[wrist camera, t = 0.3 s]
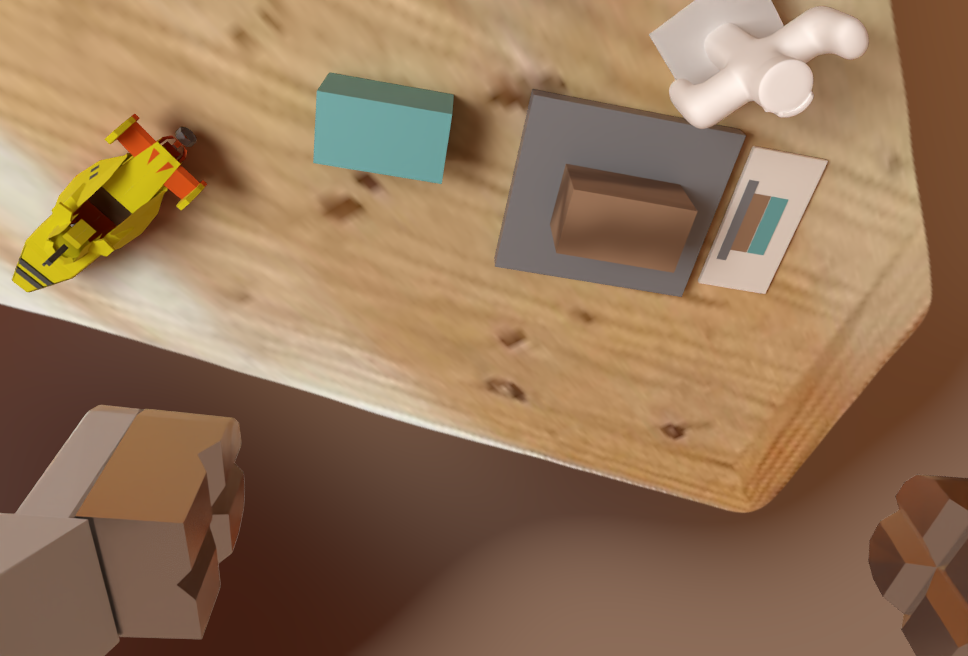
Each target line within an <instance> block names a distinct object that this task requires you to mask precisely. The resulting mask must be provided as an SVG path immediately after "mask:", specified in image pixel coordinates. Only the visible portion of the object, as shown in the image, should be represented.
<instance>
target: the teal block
mask: <svg viewBox="0 0 968 656" xmlns="http://www.w3.org/2000/svg"><path fill="white" fill-rule="evenodd" d="M453 99H454V95H453V94H448V93H442V92H436V91H431V90H425V89H419V88H414V87H408V86H403V85H397V84H391V83H386V82H380V81H374V80H369V79H363V78H357V77H352V76H346V75H341V74H335V73H329V74H328V75H327V77H326V78H325V80H324V81H323V83H322V84H321V86H320V87H319V88H318V90H317V99H316V120H315V140H314V161H313V163H317V164H323V165H329V166H335V167H341V168H347V169H353V170H360V171H366V172H372V173H378V174H384V175H390V176H396V177H402V178H409V179H415V180H421V181H427V182H433V183H439V184H442V178H443V171H444V165H445V158H446V152H447V145H448V139H449V132H450V126H451V119H452V112H453Z"/></svg>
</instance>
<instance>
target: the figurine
mask: <svg viewBox="0 0 968 656" xmlns="http://www.w3.org/2000/svg"><path fill="white" fill-rule="evenodd" d="M649 36H650V37H651V39H652V41H653V42H654V44H655V46H656V47H657V49H658V51H659V53H660V54H661V56H662V58H663V59H664V61H665V63H666V64H667V66H668V68H669V69H670V71H671V73H672V74H673V76H674V78H675V79H676V80H675V81H674V82H673V83H672V84H671V86H670V89H669V94H670V98H671V101H672V103H673V104H674V106H675V107H676V108H677V110H678V111H679V112H680V113H681V114H682V116H683V117H684V118H685V119H686V120H687V121H688V122H689V123H690V124H691V125H693V126H694V127H696V128H700V129H705V128H709V127H711V126H713V125H715V124H717V123H718V122H720V121H721V120H723V119H724V118H726V117H727V116H728V115H730V114H731V113H733V112H734V111H736V110H737V109H739V108H740V107H742V106H743V105H745V104H746V103H748V102H750V101H755V102H756V103H757V104H758V105H760V106H761V107H763V109H764V111H765V112H772V113H774V114H776V115H777V116H778V117H781V118H783V117H792V116H795V115H797V114H799V113H801V112H802V111H804V110H805V109H806V108H807V107H808V106H809V105H810V104H811V102H812V100H813V98H814V94H813V92H812V91H811V90H812V87H813V74H812V71H811V69H810V68H809V66H808V65H807V64H806V63H807V62H809V61H810V60H812V59H813V58H815V57H816V56H819V55H822V54H827V53H831V54H836V55H839V56H841V57H842V58H845V59H849V60H852V59H857V58H859V57H861V56H862V55H863V54H864V53H865V52H866V50H867V48H868V44H869V37H868V33H867V30H866V28H865V26H864V25H863V24H862V22H860V21H859V20H858V19H857V18H855V17H853V16H851V15H848V14H846V13H843V12H841V11H838V10H836V9H833V8H830V7H826V6H817V7H813V8H811V9H809V10H807V11H805V12H804V13H802V14H801V15H799V16H798V17H796V18H795V19H793V20H792V21H791V22H789V23H788V24H786V25H785V26H784V25H783V23H782V21H781V19H780V17H779V15H778V13H777V11H776V9H775V7H774V5H773V3H772V1H771V0H695V1H693V2H692V3H691V4H689V5H688V6H687V7H685V8H684V9H683V10H681V11H680V12H679V13H677V14H676V15H674V16H673V17H672V18H670V19H669V20H668V21H666V22H665V23H664V24H662V25H661V26H660V27H658V28H657V29H656V30H654V31H653V32H652V33H650V34H649Z"/></svg>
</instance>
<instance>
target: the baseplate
mask: <svg viewBox="0 0 968 656" xmlns="http://www.w3.org/2000/svg"><path fill="white" fill-rule="evenodd" d="M745 137H746V135H745V134H744V133H743V132H742V131H741V130H740V129H736V128H731V127H725V126H720V125H713V126H711V127H709V128H705V129H700V128H696V127H694V126H693V125H691V124H690V123H689V122H688V121H687V120H686V119H684V118H679V117H674V116H669V115H663V114H658V113H653V112H648V111H643V110H638V109H632V108H627V107H622V106H617V105H612V104H607V103H601V102H596V101H591V100H586V99H581V98H576V97H570V96H565V95H560V94H555V93H550V92H545V91H539V90H534V89H532V93H531V97H530V102H529V106H528V111H527V115H526V120H525V124H524V129H523V133H522V137H521V142H520V146H519V151H518V155H517V160H516V164H515V169H514V173H513V178H512V182H511V186H510V191H509V195H508V200H507V204H506V209H505V213H504V218H503V222H502V227H501V231H500V236H499V240H498V244H497V249H496V253H495V267H501V268H507V269H513V270H519V271H525V272H532V273H538V274H544V275H550V276H556V277H562V278H569V279H575V280H581V281H587V282H593V283H599V284H605V285H612V286H618V287H624V288H630V289H636V290H642V291H648V292H655V293H661V294H667V295H673V296H679V297H682V294H683V292H684V289H685V287H686V284H687V282H688V279H689V277H690V274H691V272H692V269H693V267H694V264H695V262H696V259H697V257H698V254H699V252H700V249H701V247H702V244H703V242H704V239H705V237H706V234H707V232H708V229H709V227H710V224H711V222H712V219H713V217H714V214H715V212H716V209H717V207H718V204H719V202H720V199H721V197H722V194H723V192H724V189H725V187H726V184H727V182H728V179H729V177H730V174H731V172H732V169H733V167H734V164H735V162H736V159H737V157H738V154H739V152H740V149H741V147H742V144H743V142H744V139H745ZM566 164H570V165H576V166H581V167H587V168H592V169H598V170H603V171H609V172H614V173H620V174H625V175H631V176H636V177H642V178H647V179H653V180H658V181H664V182H669V183H675V184H680V185H681V187H682V188H683V190H684V191H685V193H686V194H687V196H688V197H689V199H690V201H691V202H692V204H693V205H694V207H695V208H696V210H697V211H698V212H697V214H696V217H695V219H694V222H693V225H692V227H691V230H690V232H689V235H688V238H687V240H686V243H685V245H684V248H683V251H682V253H681V256H680V258H679V261H678V264H677V266H676V269H675V271H674V273H672V272H666V271H660V270H654V269H648V268H642V267H636V266H630V265H624V264H618V263H612V262H606V261H600V260H594V259H588V258H582V257H576V256H570V255H564V254H558V253H556V250H555V245H554V241H553V236H552V231H551V227H550V222H551V218H552V214H553V210H554V206H555V203H556V199H557V195H558V191H559V187H560V184H561V180H562V176H563V172H564V169H565V165H566Z"/></svg>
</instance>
